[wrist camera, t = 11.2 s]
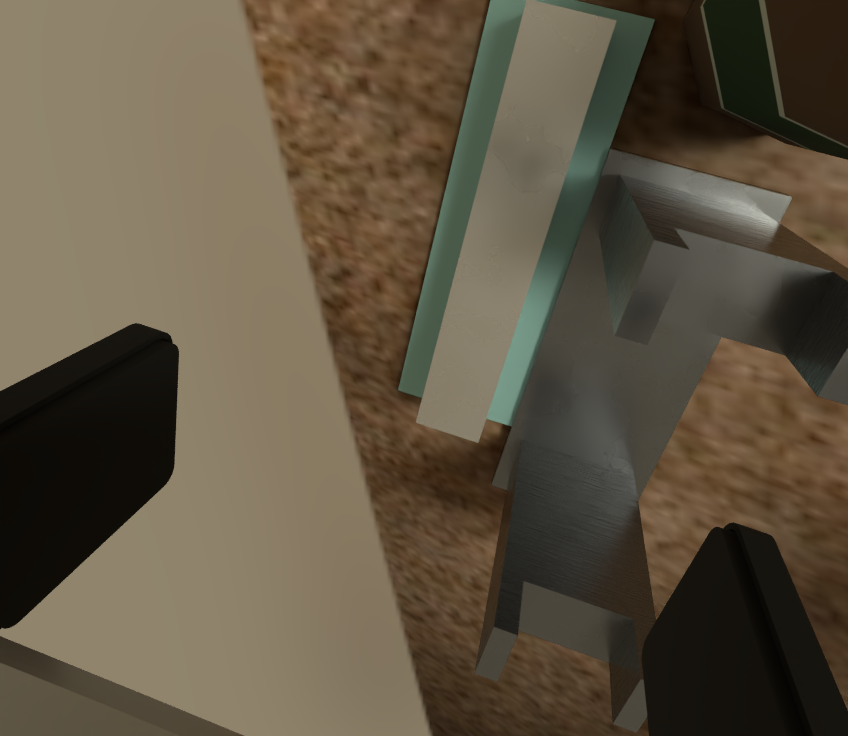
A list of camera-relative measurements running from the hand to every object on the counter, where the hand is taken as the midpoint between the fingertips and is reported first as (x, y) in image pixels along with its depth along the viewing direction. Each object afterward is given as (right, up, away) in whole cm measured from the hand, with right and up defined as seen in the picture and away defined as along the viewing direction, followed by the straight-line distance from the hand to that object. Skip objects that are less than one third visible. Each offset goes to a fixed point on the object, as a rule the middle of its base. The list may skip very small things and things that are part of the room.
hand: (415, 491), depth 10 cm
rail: (+4, +8, +16) cm, 18 cm away
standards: (+9, +3, +17) cm, 20 cm away
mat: (+4, +8, +16) cm, 18 cm away
